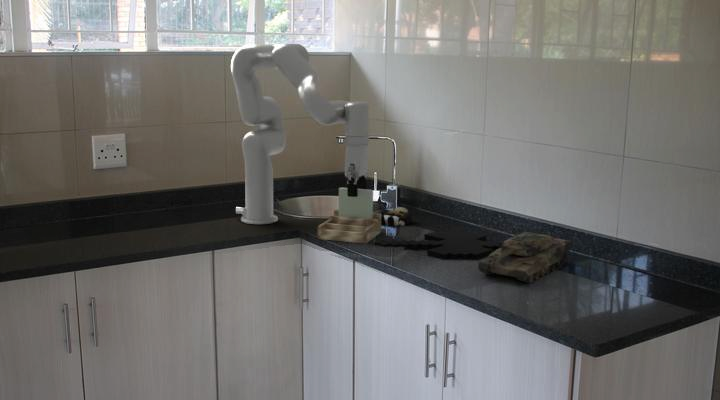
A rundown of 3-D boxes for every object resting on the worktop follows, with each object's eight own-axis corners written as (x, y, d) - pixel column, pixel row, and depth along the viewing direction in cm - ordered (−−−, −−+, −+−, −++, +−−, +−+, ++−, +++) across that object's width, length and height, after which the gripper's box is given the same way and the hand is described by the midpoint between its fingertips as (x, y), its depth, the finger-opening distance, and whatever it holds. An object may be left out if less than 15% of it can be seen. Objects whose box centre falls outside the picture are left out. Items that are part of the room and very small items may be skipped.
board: (338, 230, 266) (338, 188, 263) (340, 229, 268) (340, 187, 265) (370, 233, 262) (371, 190, 260) (372, 232, 264) (373, 189, 262)
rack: (317, 241, 255) (317, 219, 254) (334, 230, 270) (334, 209, 269) (366, 246, 250) (366, 224, 249) (380, 234, 265) (381, 213, 264)
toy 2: (465, 284, 214) (466, 247, 212) (527, 256, 244) (529, 223, 242) (511, 294, 207) (513, 256, 205) (569, 264, 236) (572, 230, 234)
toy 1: (367, 215, 275) (387, 195, 287) (370, 234, 279) (389, 214, 290) (400, 219, 269) (420, 200, 281) (403, 239, 273) (421, 219, 284)
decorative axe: (438, 225, 272) (515, 241, 252) (437, 232, 273) (515, 248, 253) (374, 242, 249) (454, 261, 229) (374, 249, 249) (453, 268, 230)
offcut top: (337, 226, 258) (337, 219, 257) (341, 223, 262) (341, 216, 262) (362, 228, 256) (362, 220, 256) (365, 225, 260) (365, 217, 260)
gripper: (354, 137, 268) (354, 188, 272) (337, 143, 252) (337, 198, 255) (376, 138, 266) (376, 190, 269) (360, 144, 250) (360, 199, 253)
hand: (357, 193), depth 262 cm, fingers open, 9 cm apart
